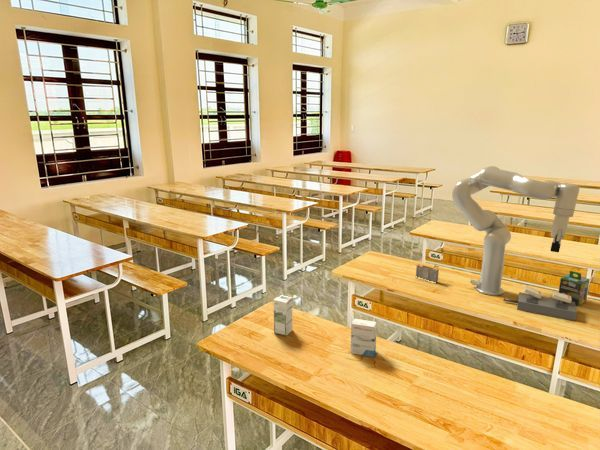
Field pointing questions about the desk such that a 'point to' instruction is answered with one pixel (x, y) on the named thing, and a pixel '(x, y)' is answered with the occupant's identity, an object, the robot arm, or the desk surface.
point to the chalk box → (575, 287)
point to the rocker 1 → (533, 292)
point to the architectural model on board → (427, 272)
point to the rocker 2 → (561, 297)
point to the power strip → (545, 306)
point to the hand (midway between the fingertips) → (554, 251)
